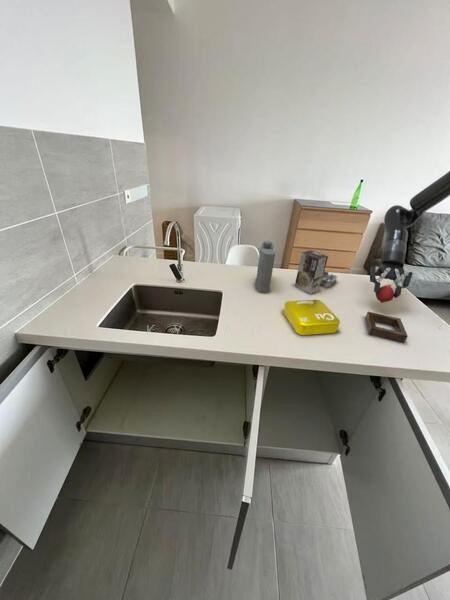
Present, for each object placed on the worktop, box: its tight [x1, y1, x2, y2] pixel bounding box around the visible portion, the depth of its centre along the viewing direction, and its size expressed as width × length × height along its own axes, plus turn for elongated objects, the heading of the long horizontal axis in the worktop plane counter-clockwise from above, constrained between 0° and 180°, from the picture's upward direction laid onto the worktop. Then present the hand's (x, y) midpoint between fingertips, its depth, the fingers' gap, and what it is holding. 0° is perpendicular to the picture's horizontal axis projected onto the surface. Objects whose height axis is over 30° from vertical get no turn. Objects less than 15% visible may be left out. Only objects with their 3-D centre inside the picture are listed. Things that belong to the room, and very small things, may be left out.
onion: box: [375, 283, 395, 304], centre depth 92 cm, size 6×6×8 cm
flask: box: [255, 240, 276, 294], centre depth 105 cm, size 15×6×20 cm, turn 174°
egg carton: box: [320, 269, 339, 288], centre depth 114 cm, size 11×8×4 cm
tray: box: [364, 311, 408, 344], centre depth 84 cm, size 11×11×3 cm
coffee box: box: [294, 249, 329, 295], centre depth 105 cm, size 9×6×16 cm
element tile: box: [283, 299, 341, 336], centre depth 86 cm, size 15×15×5 cm
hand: (386, 295), depth 90 cm, fingers closed on onion, 5 cm apart
